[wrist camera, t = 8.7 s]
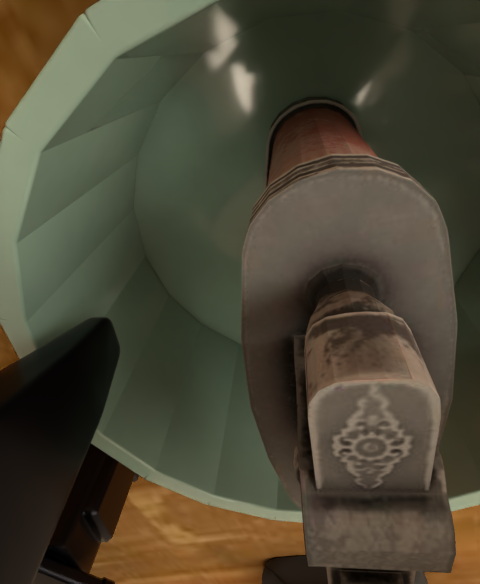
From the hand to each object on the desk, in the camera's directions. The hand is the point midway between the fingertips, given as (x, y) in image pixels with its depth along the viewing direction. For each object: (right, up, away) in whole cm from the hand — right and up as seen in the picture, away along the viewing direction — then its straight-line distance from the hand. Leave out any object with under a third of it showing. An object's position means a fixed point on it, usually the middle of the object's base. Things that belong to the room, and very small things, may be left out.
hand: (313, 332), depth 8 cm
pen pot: (+1, +3, +5) cm, 6 cm away
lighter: (+1, +3, +5) cm, 6 cm away
